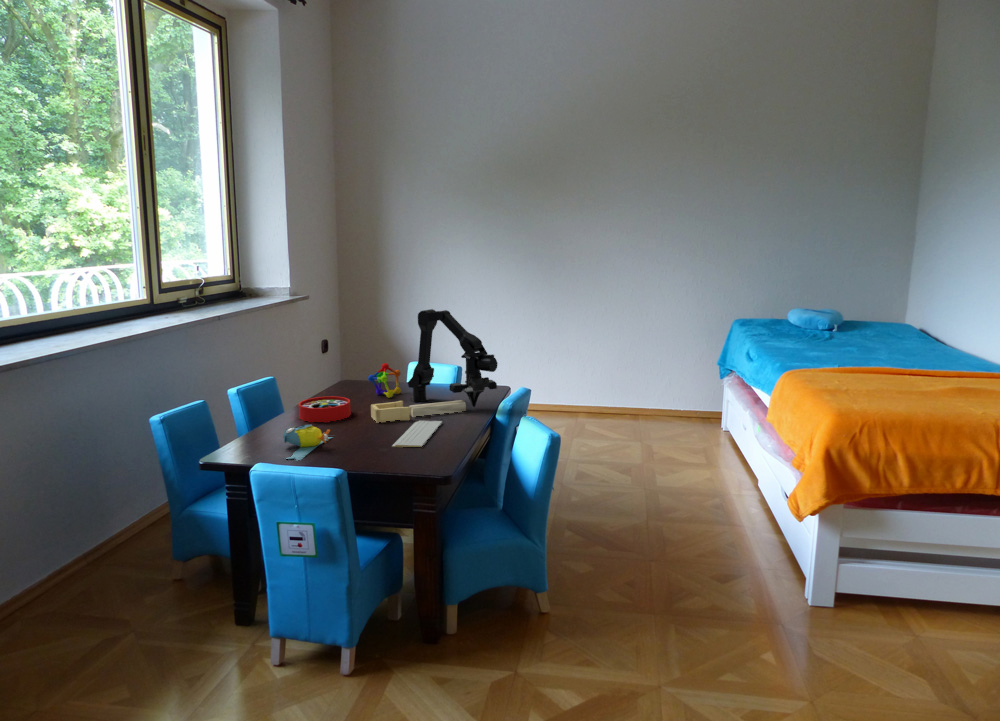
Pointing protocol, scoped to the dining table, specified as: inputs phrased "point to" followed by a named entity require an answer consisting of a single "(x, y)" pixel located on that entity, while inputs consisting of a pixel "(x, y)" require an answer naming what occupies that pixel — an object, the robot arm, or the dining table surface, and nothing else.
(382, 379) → the educational toy
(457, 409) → the ash slat
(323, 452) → the dining table surface
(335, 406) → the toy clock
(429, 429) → the baseboard molding
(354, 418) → the dining table surface
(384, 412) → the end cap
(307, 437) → the toy airplane
